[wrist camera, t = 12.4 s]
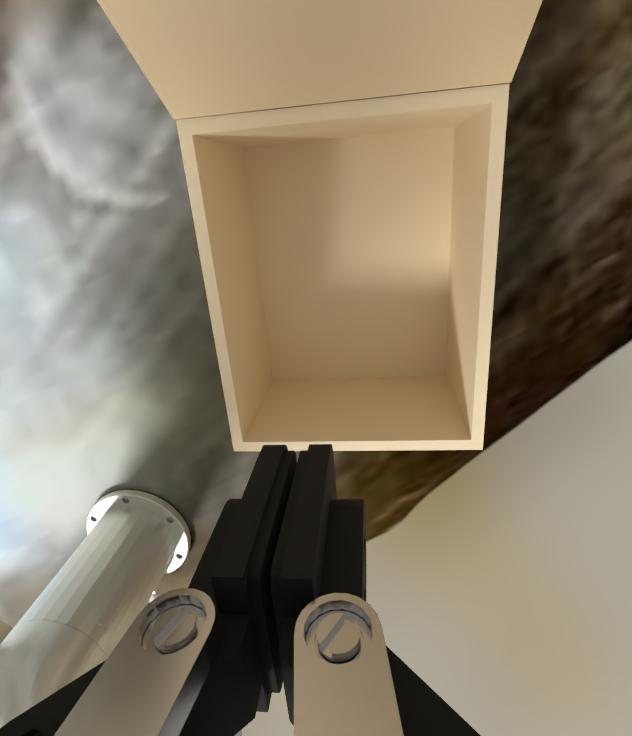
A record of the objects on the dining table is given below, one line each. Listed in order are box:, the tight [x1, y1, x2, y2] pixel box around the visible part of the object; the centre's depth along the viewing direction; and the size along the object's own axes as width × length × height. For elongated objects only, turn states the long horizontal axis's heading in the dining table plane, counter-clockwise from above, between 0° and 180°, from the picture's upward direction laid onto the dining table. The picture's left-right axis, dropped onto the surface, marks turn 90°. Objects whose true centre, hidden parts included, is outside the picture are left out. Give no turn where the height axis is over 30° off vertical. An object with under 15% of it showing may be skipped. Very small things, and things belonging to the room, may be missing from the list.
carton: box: [176, 84, 509, 451], centre depth 34 cm, size 22×18×12 cm
